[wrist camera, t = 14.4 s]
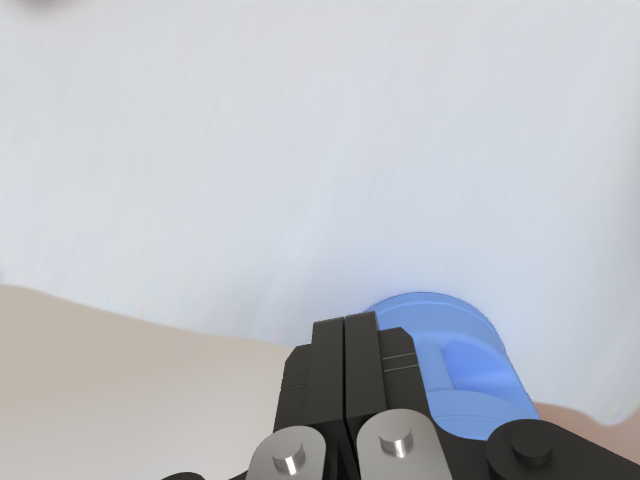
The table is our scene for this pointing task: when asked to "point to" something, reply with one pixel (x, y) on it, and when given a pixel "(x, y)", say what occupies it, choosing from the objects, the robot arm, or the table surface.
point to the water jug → (459, 363)
